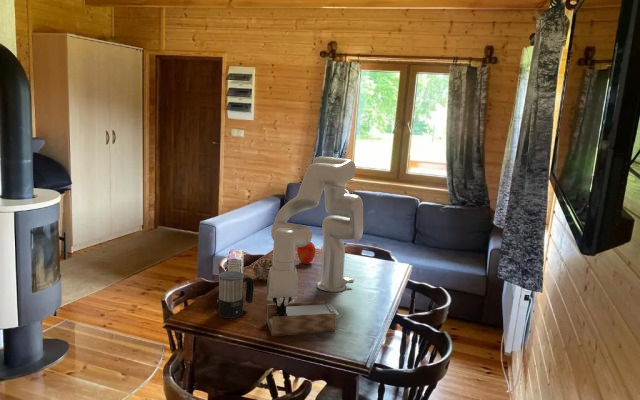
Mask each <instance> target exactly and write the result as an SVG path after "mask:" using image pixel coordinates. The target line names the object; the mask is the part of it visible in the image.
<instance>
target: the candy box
mask: <svg viewBox="0 0 640 400" xmlns="http://www.w3.org/2000/svg"><path fill="white" fill-rule="evenodd" d="M244 251H245V250H244V249H236V248H235V249H232V248H231V249H229V253H228V255H227V260H226V272H227V271H236V272H241V273H243V274H244V254H245V253H244Z"/></svg>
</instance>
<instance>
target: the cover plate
mask: <svg viewBox="0 0 640 400" xmlns="http://www.w3.org/2000/svg"><path fill="white" fill-rule="evenodd" d="M325 313H336V319H340V313H339V312H338V310H337V309H336V307H335V306H334V305H333V304H332V303H327V304H323V305H305V306H287V307H286V314H285V316H291V315H308V314H325Z"/></svg>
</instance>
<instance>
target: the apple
mask: <svg viewBox="0 0 640 400" xmlns="http://www.w3.org/2000/svg"><path fill="white" fill-rule="evenodd" d="M296 250H297V257H298V261H299V263H301V264H303V265H308V264H310V263H311V262H313V261H314V257H315V255H316V250H317V249H316V246H315V244H314V243H313V242H311V241H310V243H309V244H308V245H306V246H304V247H298V248H296Z"/></svg>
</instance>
